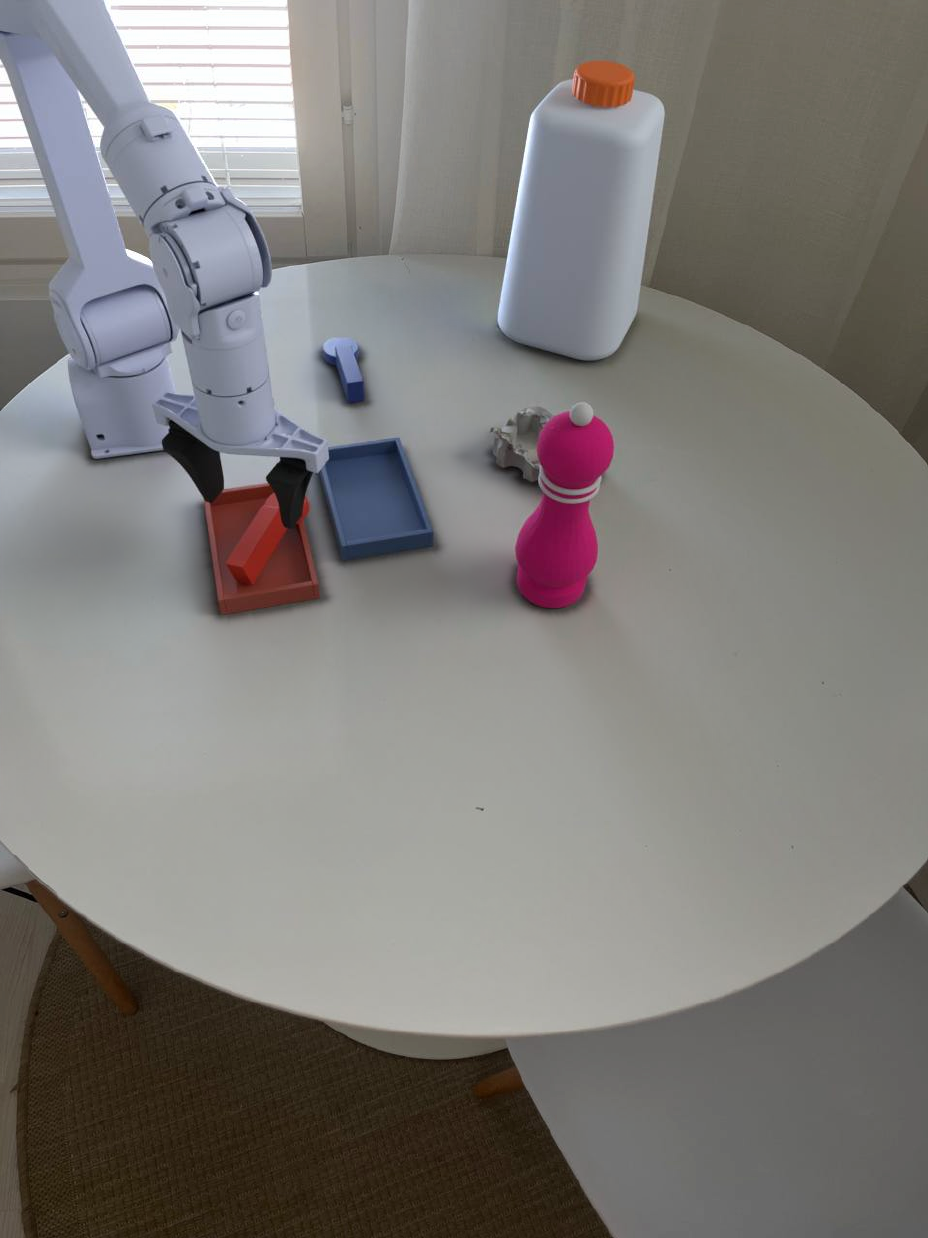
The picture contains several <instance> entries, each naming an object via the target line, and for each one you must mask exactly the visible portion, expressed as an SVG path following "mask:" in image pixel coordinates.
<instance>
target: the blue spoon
mask: <svg viewBox="0 0 928 1238" xmlns="http://www.w3.org/2000/svg"><path fill="white" fill-rule="evenodd" d="M322 351H323V353H322V354H323V359H324V361H325V362H326V363H328V364H329V365H332V366H336V368H337V372H338V375H339V379H340V381H341V385H342V388H343V391H344V394H345V397H346V401H347V403H348V404H350V403H359V402H364V401H365V381H364V378H363V376H362V371H361V370H360V366H359V363H358V360H359V356H360V353H359V352H360V351H359V344H358V342H357V341H356V340H354V339H352V338H349V337H346V336H337V337H331V338H329V339H328V340H326V341H325V342H324V343H323V345H322Z"/></svg>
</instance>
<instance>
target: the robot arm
mask: <svg viewBox="0 0 928 1238" xmlns="http://www.w3.org/2000/svg"><path fill="white" fill-rule="evenodd" d="M110 11H111V0H0V61H1V63H2V65H3V67H4V70H5V72H6V75H7V77H8V80H9V83H10V86H11V89H12V91H13V95H14V98H15V101H16V103H17V106H18V109H19V112H20V116H21V118H22V121H23V125H24V127H25V130H26V132H27V135H28V138H29V141H30V144H31V147H32V150H33V153H34V156H35V159H36V163H37V165H38V167H39V170H40V173H41V176H42V179H43V182H44V185H45V187H46V191H47V193H48V196H49V199H50V202H51V206H52V208H53V211H54V214H55V217H56V220H57V223H58V226H59V229H60V232H61V234H62V237H63V241H64V243H65V246H66V249H67V252H68V255H69V256H68V258H67V260H66V261H65V262H64V264H63V265H62V266H61V267H60V269H59V270H58V271H57V272H56V274H55V275H54V276H53V278H52V279H51V280H50V282H49V284H48V286H47V287H48V290H49V291H48V296H49V300H50V301H51V305H52V309H53V317H54V322H55V325H56V328H57V330H58V331H57V332H58V333H59V336H60V338H61V341H62V343H63V344H64V346H65V348H66V350H67V352H68V354H69V355H70V357H69V358H68V359H67V372H68V378H69V385H70V389H71V392H72V396H73V397H72V398H73V400H74V403H75V406H76V409H77V412H78V415H79V419H80V421H81V424H82V427H83V431H84V433H85V436H86V439H87V442H88V445H89V448H90V455H91V457H92V458H93V459H95V460H98V459H106V458H107V459H108V458H113V457H121V456H128V455H135V454H137V455H138V454H143V453H150V452H159V451H164V452H165V453H167V454H168V455H170V456H171V457H172V458H173V459H174V460H175V461H176V462H177V463H178V464H179V465H180V466H181V467H182V469H183V470H184V472H186V474H188V476H189V478H190V479H191V480H192V482H193V483H194V485H195V487H196V488H197V490H198V492H199V493H200V494H201V497H202V498H204V499H203V501H204V500H205V501H206V502H209V503H212V502H213V501H214V500H215V499H216V498H217V497H218V495H219V494H220V493H221V492H222V491H223V490H224V489H225V476H224V469H223V465H222V459H221V453H222V454H226V455H227V454H228V455H239V456H257V457H273V458H274V457H277V458H279V461H278V462H277V463H276V464H275V465H274V466H273V468H272V469H271V470H270V471H269V472H268V473H267V474H266V476H265V481H266V483H269V485H270V486H271V487H272V489H273V491H274V493H275V495H276V498H277V501H278V504H279V510H280V516H281V521H282V524H283V526H284V527H285V528H288V529H292V528H293V527H294V526H295V524H296V523H297V522H298V520H299V519H300V518H301V516H302V512H303V505H304V500H305V495H307V491H308V487H309V484H310V482H311V479H312V477H313V475H314V473H315V474H318V473H319V471H320V470H321V469H322V468H323V466H324V465H325V464H326V462H327V461H328V459H329V452H328V447H329V442H328V439H326V438H323V437H320V436H317V435H315V434H313V433H312V432H310V431H309V430H307V429H305V428H304V427H302V426H301V425H300V424H298V423H296V422H295V421H293V420H292V419H291V418H289V417H287V416H286V415H284V414H283V413H281V412H280V411H278V410H276V409H275V400H274V397H273V389H272V382H271V375H270V368H269V360H268V359H269V358H268V352H267V351H268V350H267V345H266V344H267V343H266V338H265V337H266V336H265V330H264V323H263V315H262V314H263V313H262V307H261V300H260V293H259V291H260V290H261V289H262V288H263V289H264V288H267V287H268V286H270V284H271V282H272V276H273V274H272V273H273V266H272V259H271V254H270V250H269V246H268V244H267V240H266V238H265V235H264V232H263V230H262V228H261V226H260V223H258V220H257V219H256V216H255V215H254V212H253V211H252V210H251V209H250V208H249V206H248V205H247V204H246V203H245V202H243V201H242V200H240V199H238V198H236V196H235V195H234V194H233V192H232V191H231V189H230V188H228V187H227V186H224V187H220V186H218V183H217V182H216V181H215V179H214V177H213V174H211V172H210V170H209V168H208V167H207V165H206V163H205V161H204V160H203V158H202V156H201V154H200V152H199V150H198V148H197V147H196V146H195V144H194V142H193V140H192V139H191V137H190V135H189V133H188V131H187V130H186V128H185V127H184V125H183V123H182V121H181V119H180V117H179V116H178V114H176V112H175V111H173V110H172V109H171V108H169V107H167V106H164V105H162V104H158V103H155V102H152V101H151V99H150V97H149V95H148V93H147V90H146V89H145V86H144V83H143V82H142V80H141V78H140V76H139V74H138V71H137V69H136V67H135V65H134V63H133V60H132V59H131V56H130V54H129V52H128V51H127V48H126V46H125V44H124V42H123V39H122V37H121V35H120V33H119V31H118V29H117V26H116V25H115V22H114V20H113V18H112V16H111V14H110ZM81 96H82V98H83V99H84V101H85V102H86V104H87V105H88V106H89V108H90V109H91V110H92V112H93V113H94V115H95V116H96V118H97V119H98V121H99V122H100V124H101V126H103V131H102V133H101V138H100V142H99V150H100V151H99V152H100V155H101V158H102V159H103V161H104V162H105V164H106V166H107V168H108V169H109V170H108V171H110V173H111V175H112V177H113V178H114V180H115V182H116V184H117V185H118V187H119V189H120V190H121V192H122V194H123V195H124V198H125V200H126V201H127V203H128V205H129V206H130V208H131V209H132V212H133V213H134V215H135V217H136V218H137V220H138V221H139V224H140V226H141V227H142V228H143V230H144V232H145V234H146V236H147V237H148V240H149V241H148V249H149V250H148V255H149V258H150V259H149V258H148V257H146V256H144V255H142V254H140V253H137V252H135V251H132V250H130V249H127V248H126V245H125V242H124V238H123V235H122V232H121V229H120V228H121V227H120V225H119V221H118V218H117V215H116V212H115V209H114V204H113V202H112V198H111V194H110V192H109V189H108V186H107V181H106V179H105V175H104V171H103V169H102V165H101V162H100V158H99V154H98V151H97V148H96V145H95V142H94V139H93V134H92V131H91V129H90V125H89V122H88V117H87V115H86V112H85V108H84V105H83V102H82V99H81ZM179 332H180V334H181V338H182V343H183V348H184V352H185V353H184V354H185V357H186V362H187V367H188V372H189V375H190V376H189V377H190V380H191V381H190V382H191V385H192V389H193V394H184V393H183V394H182V393H176V388H175V384H174V380H173V376H172V371H171V367H170V363H169V358H168V355H171V354H172V353H173V348H172V344H171V343H173V342H175V341H177V339H178V337H179Z"/></svg>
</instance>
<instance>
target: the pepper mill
mask: <svg viewBox="0 0 928 1238" xmlns="http://www.w3.org/2000/svg"><path fill="white" fill-rule="evenodd" d="M614 451H615V443H614V437H613V434H612V432H611V430H610V428H609V427H608V425H607V424H606V422H605V421H603V420H602V419H601V418H599V417H598V416H596V415H595V414H594V410H593V408H592V406H591V405H590V404H589V403H587V402H584V401H580V402H577V403H575V404H573V405H572V407H571V408H570V410H568V411H564V412H561V413H558V414H555V415H554V417H553V418H551V419H550V420H549V421H548V422H547V423H546V424H545V426H544V427H543V429H542V430H541V432H540V435H539V438H538V442H537V457H538V459H539V462H540V464H541V466H540V474H539V477H538V480H537V481H538V486H539V488H540V490H541V491H542V495H541V501H540V502H539V504H538V506H537V507H536V508H535V510H533V512H532V513H531V514H530V515H529V517H527V519H526V520H525V522H524V523H523V524H522V527H521V528H520V529H519V531H518V534H517V539H516V542H515V547H514V549H515V550H514V552H515V558H516V561H517V564H518V565H517V566H518V567H517V572H516V585H517V588H518V590H519V592H520V594H521V595H522V596H523V598H525V599H526V600H528V602H530V603H532V604H534V605H536V606H538V607H543V608H545V609H560V608H566V607H569V606H571V605H573V604H575V603H576V602H577V601H578V600H579V599H580V598H581V597H582V596H583V594H584V592H585V588H586V583H587V580H588V579H587V578H588V576H589V575H590V574H591V573H592V572H593V570H594V568H595V566H596V564H597V561H598V553H599V552H598V551H599V544H598V543H599V542H598V538H597V537H598V536H597V531H596V530H595V527H594V523H593V521H592V519H591V515H590V501H591V500H592V499H593V498H594V497H596V496H597V494H598V493H599V491H600V487H601V482H602V478H603V477H602V476H603V475H604V473H606V471H607V470H608V469H609V468H610V466H611V464H612V460H613V458H614Z"/></svg>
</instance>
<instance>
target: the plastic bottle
mask: <svg viewBox="0 0 928 1238" xmlns="http://www.w3.org/2000/svg"><path fill="white" fill-rule="evenodd" d="M635 82H636V76H635V74H634V72H633V71H632V69H630V68H629V67H628V66H626V65H623V64H621V63H618V62H614V61H607V60H591V61H585V62H583V63H581V64H580V65H578V66H577V67H576V68H575V70H574V72H573V77H572V78H570V79H566V80H563V81H561V82H559V83H558V84H557V85H555V87H554V88H553V89H551V90H550V92H549V93H548V94H546V96H544V98H543V99H542V100H541V101H540V103H539V104H538V105H537V106H536V107H535V109H534V110H533V111H532V113H531V115H530V118H529V124H528V129H527V136H526V141H525V147H524V154H523V160H522V166H521V172H520V177H519V184H518V190H517V191H518V192H517V197H516V202H515V208H514V214H513V220H512V227H511V233H510V240H509V245H508V249H507V250H508V251H507V256H506V264H505V269H504V274H503V275H504V276H503V280H502V281H503V282H502V286H501V294H500V300H499V304H498V305H499V306H498V310H497V311H498V312H497V325H498V326H499V328H500V331H501V332H502V334H504V335H505V337H507V338H508V339H510V340H512V341H513V342H515V343H518V344H521V345H524V346H529V347H532V348H535V349H539V350H541V351H542V350H543V351H546V352H549V353H552V354H557V355H561V356H564V357H567V358H572V359H574V360H575V359H576V360H579V361H587V362H588V361H598V360H602V359H606V358H608V357H610V356H612V355H613V354H614V353H615V352H616V351H617V350H618V349H619V348H620V346H621V344H622V342H623V341H624V338H625V336H626V334H627V333H628V331H629V329H630V327H631V325H632V323H633V322H634V320H635V318H636V316H637V312H638V305H639V299H640V293H641V285H642V278H643V272H644V265H645V259H646V258H645V257H646V249H647V245H648V244H647V242H648V237H649V236H648V235H649V229H650V222H651V215H652V208H653V201H654V193H655V186H656V180H657V172H658V167H659V166H658V165H659V159H660V151H661V143H662V137H663V130H664V124H665V123H664V122H665V117H666V116H665V115H666V111H665V107H664V104H663V102H662V101H661V99H660V98H658V97H656V96H655V95H653V94H652V93H648V92H645V91H642V90H641V91H640V90H636V89H634V87H635Z"/></svg>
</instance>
